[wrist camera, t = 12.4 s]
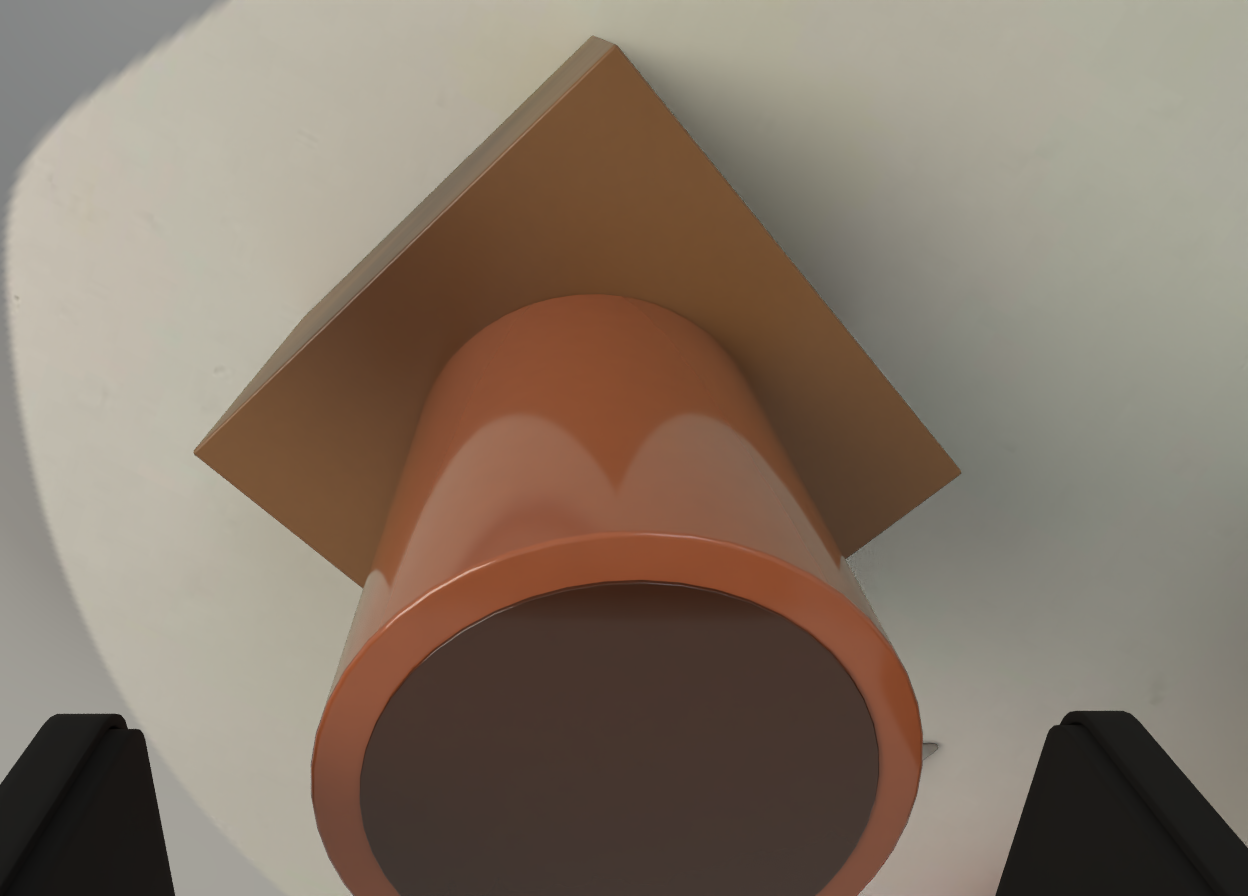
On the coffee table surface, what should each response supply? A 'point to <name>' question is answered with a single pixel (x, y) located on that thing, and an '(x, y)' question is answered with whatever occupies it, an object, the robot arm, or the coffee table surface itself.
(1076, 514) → the coffee table surface
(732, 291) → the stand
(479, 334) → the cup
